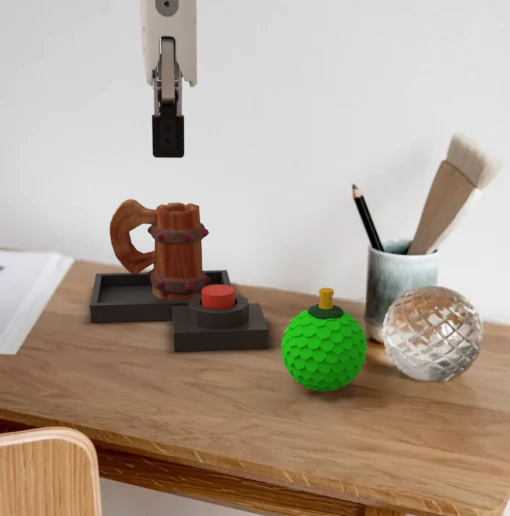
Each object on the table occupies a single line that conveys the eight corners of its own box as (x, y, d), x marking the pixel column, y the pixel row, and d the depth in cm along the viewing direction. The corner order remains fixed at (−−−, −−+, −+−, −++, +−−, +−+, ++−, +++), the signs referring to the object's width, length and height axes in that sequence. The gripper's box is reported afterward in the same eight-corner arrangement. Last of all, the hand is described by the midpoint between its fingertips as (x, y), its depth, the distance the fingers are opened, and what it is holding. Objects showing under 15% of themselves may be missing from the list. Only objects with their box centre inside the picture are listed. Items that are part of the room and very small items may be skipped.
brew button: (202, 311, 90) (202, 296, 89) (201, 299, 93) (200, 284, 92) (236, 310, 90) (236, 294, 90) (233, 298, 94) (233, 283, 93)
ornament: (351, 413, 77) (357, 310, 73) (268, 398, 79) (269, 298, 75) (373, 378, 84) (380, 282, 79) (295, 365, 86) (298, 271, 82)
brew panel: (174, 351, 89) (173, 316, 87) (172, 323, 96) (171, 290, 95) (268, 348, 90) (268, 313, 88) (259, 321, 97) (259, 288, 96)
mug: (213, 290, 105) (212, 195, 100) (207, 309, 99) (205, 208, 94) (120, 287, 106) (115, 193, 101) (109, 306, 100) (102, 206, 95)
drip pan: (90, 322, 96) (89, 305, 96) (96, 289, 107) (95, 273, 106) (235, 317, 98) (235, 301, 97) (227, 285, 109) (227, 269, 108)
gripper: (210, -43, 72) (209, 171, 80) (202, -39, 86) (201, 144, 93) (122, -47, 71) (129, 170, 79) (128, -42, 85) (133, 143, 92)
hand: (168, 155), depth 86 cm, fingers closed
